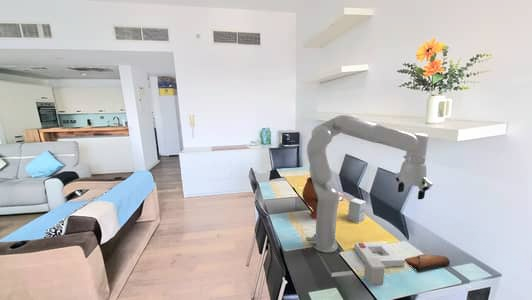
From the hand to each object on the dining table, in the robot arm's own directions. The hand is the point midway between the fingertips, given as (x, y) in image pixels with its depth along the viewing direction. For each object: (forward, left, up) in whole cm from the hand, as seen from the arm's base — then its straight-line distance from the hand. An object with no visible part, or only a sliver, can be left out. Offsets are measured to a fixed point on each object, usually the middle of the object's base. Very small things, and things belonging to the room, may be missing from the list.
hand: (410, 195), depth 105 cm
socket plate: (-16, -5, -28) cm, 33 cm away
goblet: (-33, +36, -28) cm, 57 cm away
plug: (-26, -19, -28) cm, 43 cm away
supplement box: (-9, +31, -28) cm, 43 cm away
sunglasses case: (+3, -11, -29) cm, 31 cm away
